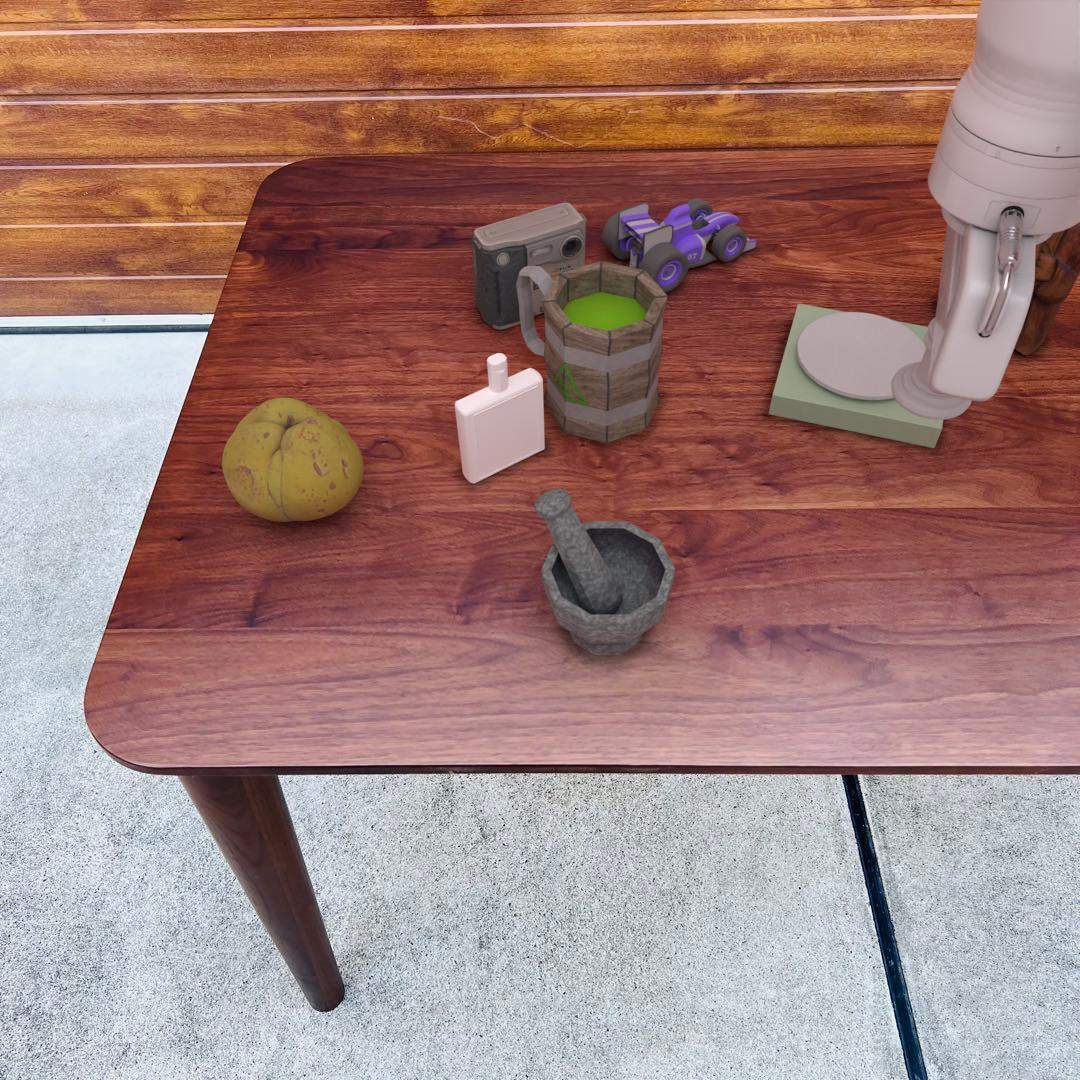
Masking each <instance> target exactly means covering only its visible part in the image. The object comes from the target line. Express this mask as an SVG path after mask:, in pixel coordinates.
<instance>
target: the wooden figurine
mask: <svg viewBox="0 0 1080 1080" xmlns="http://www.w3.org/2000/svg"><path fill="white" fill-rule="evenodd" d="M1079 275H1080V222H1079V223H1078V224H1076V225H1074V226H1072V227H1070V228H1068V229H1066V230H1063V231H1060V232H1056V233H1053V234H1052V236H1051V237H1050V238H1048V239H1047V240H1046V241H1044V242H1042V243H1040V244H1037V245H1036V252H1035V281H1034V288H1033V293H1032V298H1031V302H1030V305H1029V309H1028V312H1027V315H1026V318H1025V321H1024V324H1023V327H1022V329H1021V332H1020V335H1019V337H1018V340H1017V342H1016V345H1015V348H1014V350H1015V351H1017V352H1019V353H1020V354H1021V355H1023V356H1029V355H1031V354H1033V353H1036V351H1037V350H1038V349H1039V348H1040V347H1041V345H1042V344H1043V342H1044V341H1045V339H1046V337H1047V335H1048V334H1049V332H1050V330H1051V328H1052V326H1053V324H1054V322H1055V320H1056V319H1057V315H1058V313H1059V311H1060V309H1061V305H1062V303H1063V302H1064V301H1065V300H1066V299H1067V298H1068V297H1069V295H1070V294H1071V292H1072V289H1073V287H1074V285H1075V284H1076V281H1077V279H1078V278H1079Z"/></svg>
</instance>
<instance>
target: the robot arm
mask: <svg viewBox="0 0 1080 1080" xmlns="http://www.w3.org/2000/svg"><path fill="white" fill-rule="evenodd" d="M958 81H959V82H958V83H957V85H956V87H955V89H954V91H953V93H952V96H951V100H950V103H949V106H948V108H947V109H948V110H947V113H946V117H945V120H944V123H943V126H942V130H941V133H940V136H939V139H938V141H937V145H936V149H935V152H934V155H933V158H932V162H931V166H930V169H929V171H928V172H929V173H928V175H927V186H928V190H929V192H930V194H931V196H932V198H933V199H934V200H935V201H936V203H937V204H938V205H939V206H940V207H941V214H942V218H943V219H944V221H945V222H946V230H945V239H944V246H943V253H942V254H943V255H942V261H941V268H940V269H941V270H940V278H939V285H938V286H939V287H938V293H937V295H938V296H937V303H936V309H935V317H936V318H935V317H934V318H935V327H934V335H933V343H932V351H931V359H930V367H929V376H928V388H929V389H930V390H931V391H932V392H934V393H936V394H940V395H945V396H949V397H954V398H959V399H965V400H971V401H972V402H979V403H980V402H982V403H983V402H987V401H988V400H990V399H992V397H994V395H995V394H996V393H997V392H998V389H999V387H1000V385H1001V383H1002V380H1003V378H1004V375H1005V373H1006V371H1007V368H1008V365H1009V363H1010V360H1011V358H1012V356H1013V352H1014V350H1015V349H1014V348H1015V345H1016V342H1017V340H1018V337H1019V335H1020V332H1021V329H1022V327H1023V324H1024V321H1025V318H1026V315H1027V312H1028V309H1029V305H1030V302H1031V298H1032V293H1033V288H1034V281H1035V252H1036V245H1037V244H1040V243H1042V242H1044V241H1046V240H1047V239H1048V238H1050V237H1051V236H1052V234H1053V233H1056V232H1060V231H1063V230H1066V229H1068V228H1070V227H1072V226H1074V225H1076V224H1078V223H1079V222H1080V0H981V2H980V5H979V8H978V11H977V15H976V21H975V45H974V50H973V54H972V57H971V60H970V63H969V65H968V67H967V69H966V70H965V72H964V74H963V75H962V76H961V78H960V80H958Z"/></svg>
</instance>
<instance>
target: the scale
mask: <svg viewBox="0 0 1080 1080" xmlns="http://www.w3.org/2000/svg"><path fill="white" fill-rule="evenodd" d="M795 308H796V309H795V313H794V316H793V319H792V323H791V327H790V331H789V334H788V337H787V342H786V345H785V348H784V352H783V355H782V359H781V362H780V367H779V369H778V373H777V378H776V380H775V383H774V384H775V385H774V388H773V392H772V395H771V400H770V405H769V408H768V415H770V416H775V417H779V418H785V419H790V420H795V421H799V422H805V423H810V424H813V425H819V426H824V427H828V428H834V429H839V430H843V431H848V432H853V433H858V434H863V435H866V436H873V437H877V438H881V439H882V438H883V439H886V440H892V441H897V442H901V443H907V444H911V445H917V446H919V447H926V448H931V449H935V448H936V446H937V443H938V440H939V438H940V435H941V433H942V430H943V426H944V419H943V420H933V419H926V418H922V417H919V416H916V415H914V414H912V413H910V412H908V411H907V410H905V409H904V408H903V407H901V406H900V405H899V404H898V403H897V401H896V400H895V398H894V397H893V394H892V391H891V382H892V379H893V377H894V375H895V374H896V373H897V371H898V370H899V369H901V368H902V367H904V366H906V365H908V364H911V363H915V362H921V361H922V358H923V355H924V352H925V350H926V346H925V343H924V337H925V334H926V333H927V331H928V326H926V325H920V324H914V323H908V322H904V321H897V320H894V319H891V318H888V317H885V316H882V315H879V314H873V313H869V312H863V311H861V312H860V311H859V312H858V311H842V310H837V309H832V308H826V307H820V306H814V305H811V304H804V303H797V305H796V307H795Z"/></svg>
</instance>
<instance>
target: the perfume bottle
mask: <svg viewBox="0 0 1080 1080" xmlns="http://www.w3.org/2000/svg"><path fill="white" fill-rule="evenodd" d="M486 366H487V367H486V368H487V381H488V386H486V387H484V388H481V389H479V390H478V391H474V392H473V393H471V394H469V395H467V396H464V397H463V398H460V399H458V400H456V401H455V402H454V411H455V419H456V429H457V438H458V445H459V453H460V463H461V469H462V475H463V477H464V478H465V479H466V480H467V481H468V483H470V484H472V485H475V484H477V483H479V482H480V481H483V480H484V479H487V478H488V477H491V476H493V475H495V474H497V473H498V472H501V471H503V470H505V469H508V468H509V467H511V466H514V465H516V464H517V463H519V462H522V461H524V460H526V459H527V458H530V457H532V456H534V455H536V454H538V453H540V452H542V451H544V450H545V449H546V442H545V440H546V439H545V410H544V409H545V408H544V406H545V403H544V379H543V377H542V374H540V372H538V371H537V370H536V369H535V368H532V367H529V368H526V369H524V370H522V371H519V372H517V373H514V374H513V375H511V376H509V372H508V369H509V368H508V357H507V356H506V355H505V354H504V353H501V352H497V353H494V354H492V355H489V357H487V360H486Z"/></svg>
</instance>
